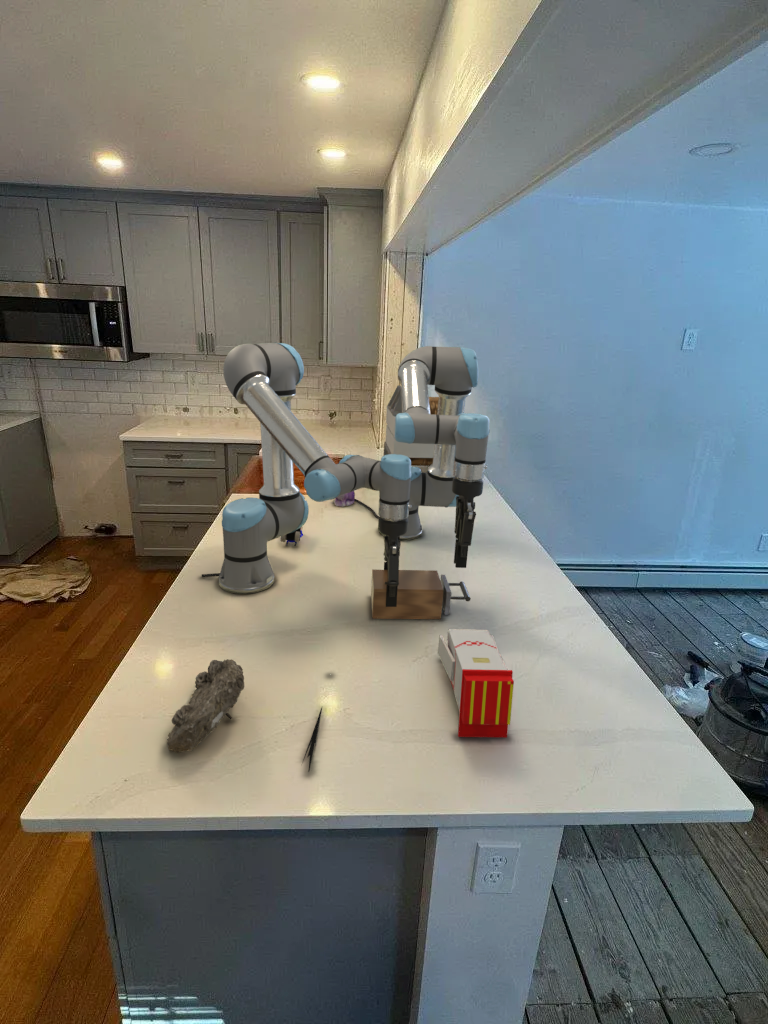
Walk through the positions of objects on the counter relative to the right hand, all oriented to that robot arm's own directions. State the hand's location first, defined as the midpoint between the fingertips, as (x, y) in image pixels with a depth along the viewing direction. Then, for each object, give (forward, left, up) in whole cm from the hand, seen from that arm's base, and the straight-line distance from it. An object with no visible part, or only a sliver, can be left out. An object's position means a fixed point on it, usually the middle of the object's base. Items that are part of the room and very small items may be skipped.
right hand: (459, 564), depth 147 cm
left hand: (-11, -14, -9) cm, 20 cm away
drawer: (-5, -6, -12) cm, 15 cm away
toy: (+26, -24, -13) cm, 37 cm away
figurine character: (-64, -10, -13) cm, 66 cm away
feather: (+14, -53, -13) cm, 56 cm away
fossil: (+1, -69, -13) cm, 70 cm away
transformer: (-101, +84, -13) cm, 132 cm away
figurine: (-85, +27, -13) cm, 90 cm away
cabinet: (-8, -11, -13) cm, 19 cm away
